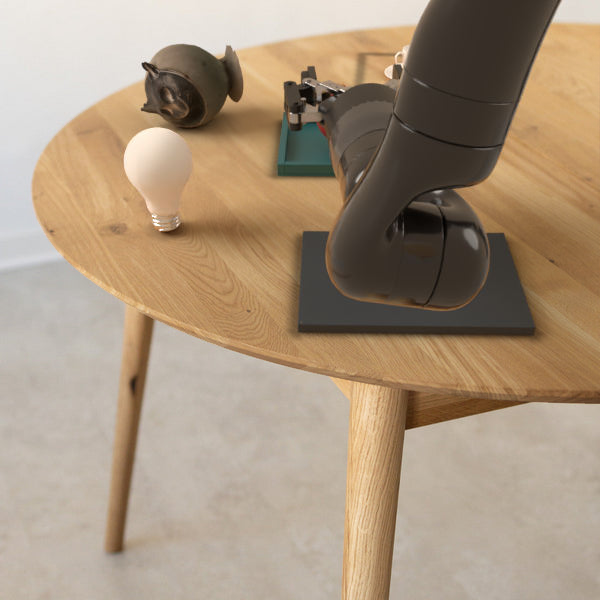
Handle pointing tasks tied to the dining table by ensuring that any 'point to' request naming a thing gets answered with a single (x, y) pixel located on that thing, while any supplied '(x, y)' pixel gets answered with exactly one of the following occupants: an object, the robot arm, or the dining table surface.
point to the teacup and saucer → (389, 69)
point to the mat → (406, 320)
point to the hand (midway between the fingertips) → (353, 74)
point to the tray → (303, 151)
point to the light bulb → (159, 173)
